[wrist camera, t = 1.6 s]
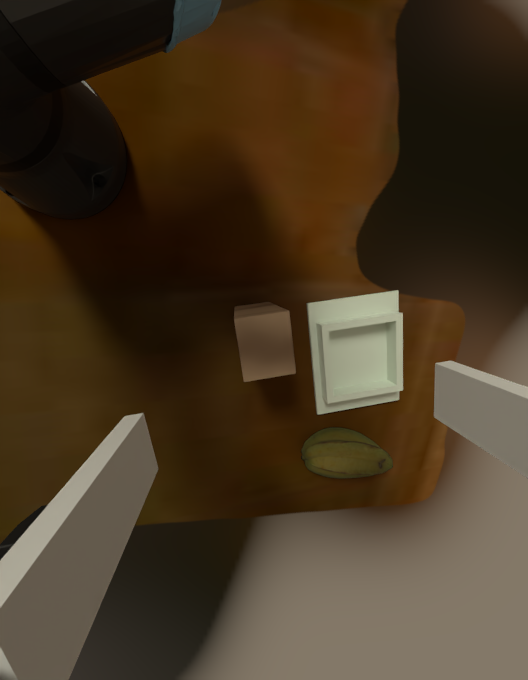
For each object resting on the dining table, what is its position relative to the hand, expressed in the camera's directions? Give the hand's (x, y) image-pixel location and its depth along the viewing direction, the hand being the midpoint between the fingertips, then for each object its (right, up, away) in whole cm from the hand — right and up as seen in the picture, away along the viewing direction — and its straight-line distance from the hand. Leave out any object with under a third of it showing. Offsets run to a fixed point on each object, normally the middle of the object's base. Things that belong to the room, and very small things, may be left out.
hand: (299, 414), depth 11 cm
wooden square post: (-3, +6, +25) cm, 26 cm away
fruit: (+11, -14, +31) cm, 36 cm away
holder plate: (+13, +1, +28) cm, 31 cm away
